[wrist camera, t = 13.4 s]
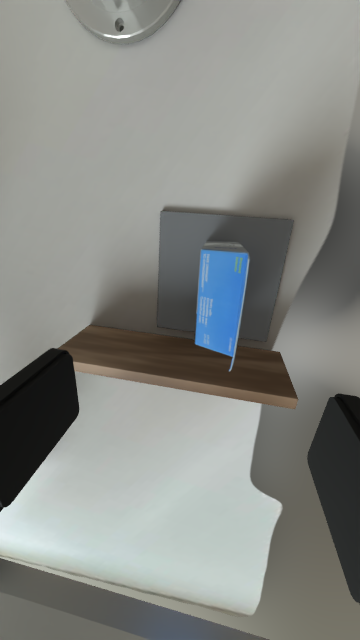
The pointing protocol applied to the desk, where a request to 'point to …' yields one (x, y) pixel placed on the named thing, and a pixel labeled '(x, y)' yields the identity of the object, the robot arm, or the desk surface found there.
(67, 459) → the desk surface
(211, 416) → the desk surface
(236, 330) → the label tape box
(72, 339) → the walnut screen
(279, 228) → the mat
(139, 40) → the robot arm
